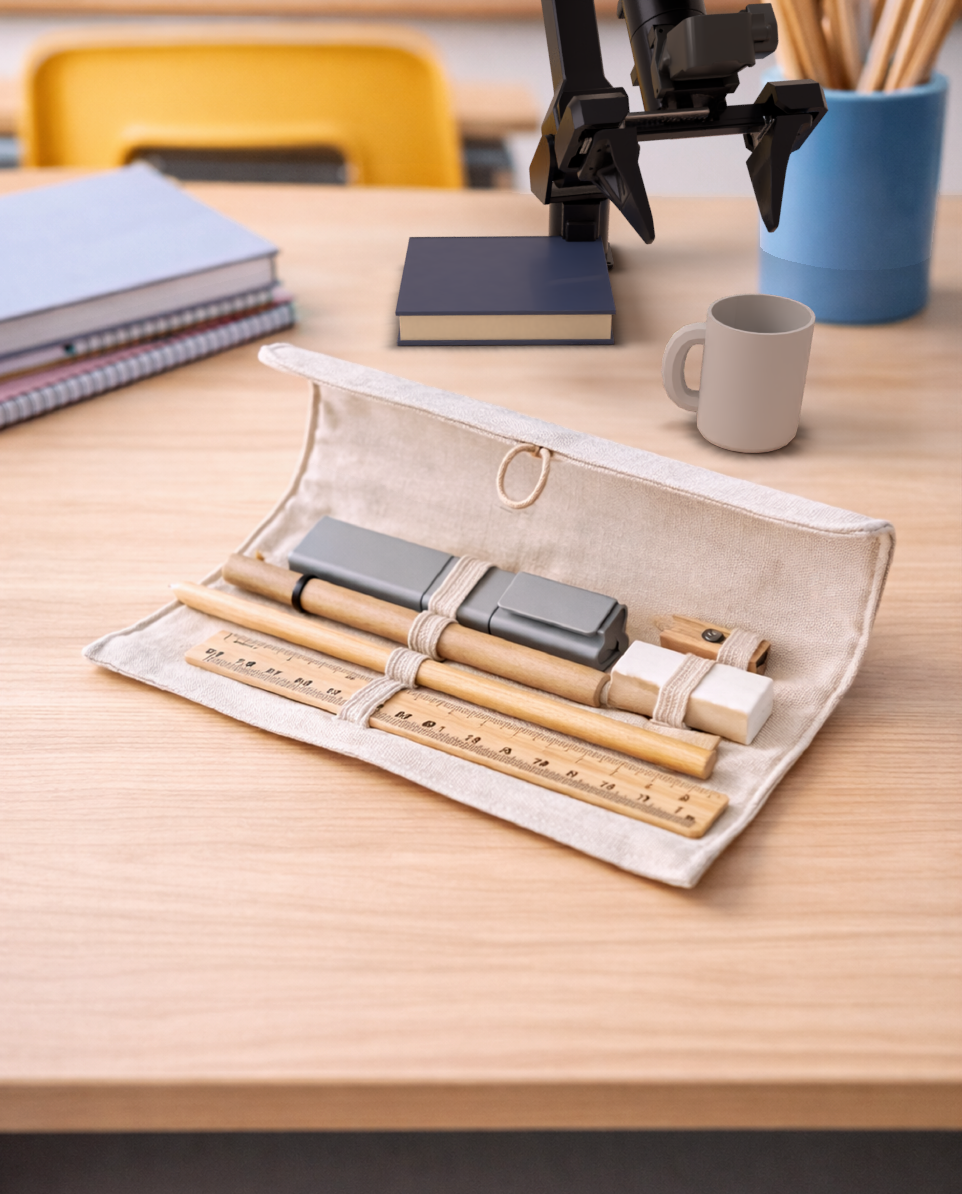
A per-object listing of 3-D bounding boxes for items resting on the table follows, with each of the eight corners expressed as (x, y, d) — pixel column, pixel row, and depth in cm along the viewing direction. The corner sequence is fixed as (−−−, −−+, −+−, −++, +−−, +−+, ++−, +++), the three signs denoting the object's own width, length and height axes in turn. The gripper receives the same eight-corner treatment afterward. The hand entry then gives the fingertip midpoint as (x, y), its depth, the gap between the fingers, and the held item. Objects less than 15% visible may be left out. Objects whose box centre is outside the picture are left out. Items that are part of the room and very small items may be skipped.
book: (410, 267, 114) (409, 236, 112) (599, 266, 113) (601, 235, 112) (397, 345, 99) (395, 311, 97) (614, 344, 99) (615, 310, 97)
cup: (796, 459, 83) (816, 338, 77) (652, 446, 84) (661, 327, 79) (797, 412, 88) (815, 297, 83) (661, 401, 90) (671, 287, 85)
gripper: (570, -36, 77) (616, 188, 74) (837, -49, 80) (889, 164, 78) (536, 69, 87) (575, 267, 85) (773, 54, 91) (816, 244, 88)
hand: (712, 235), depth 84 cm, fingers open, 9 cm apart
